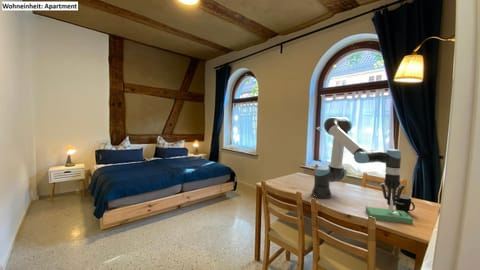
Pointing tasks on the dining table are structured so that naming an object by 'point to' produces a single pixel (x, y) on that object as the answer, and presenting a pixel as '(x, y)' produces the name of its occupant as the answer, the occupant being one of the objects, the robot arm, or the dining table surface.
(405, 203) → the mug
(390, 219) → the green
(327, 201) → the dining table surface
